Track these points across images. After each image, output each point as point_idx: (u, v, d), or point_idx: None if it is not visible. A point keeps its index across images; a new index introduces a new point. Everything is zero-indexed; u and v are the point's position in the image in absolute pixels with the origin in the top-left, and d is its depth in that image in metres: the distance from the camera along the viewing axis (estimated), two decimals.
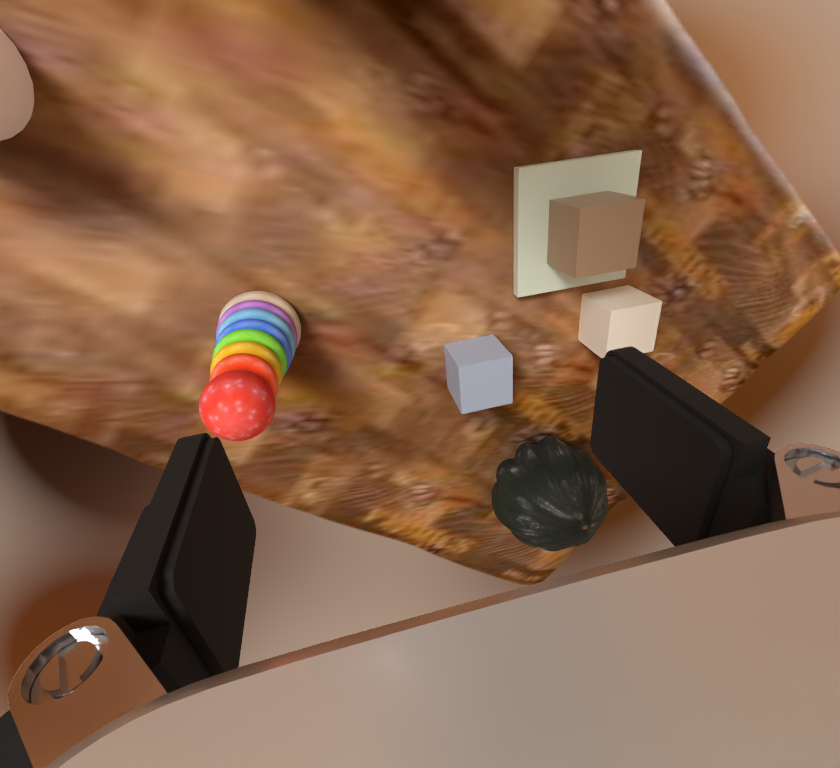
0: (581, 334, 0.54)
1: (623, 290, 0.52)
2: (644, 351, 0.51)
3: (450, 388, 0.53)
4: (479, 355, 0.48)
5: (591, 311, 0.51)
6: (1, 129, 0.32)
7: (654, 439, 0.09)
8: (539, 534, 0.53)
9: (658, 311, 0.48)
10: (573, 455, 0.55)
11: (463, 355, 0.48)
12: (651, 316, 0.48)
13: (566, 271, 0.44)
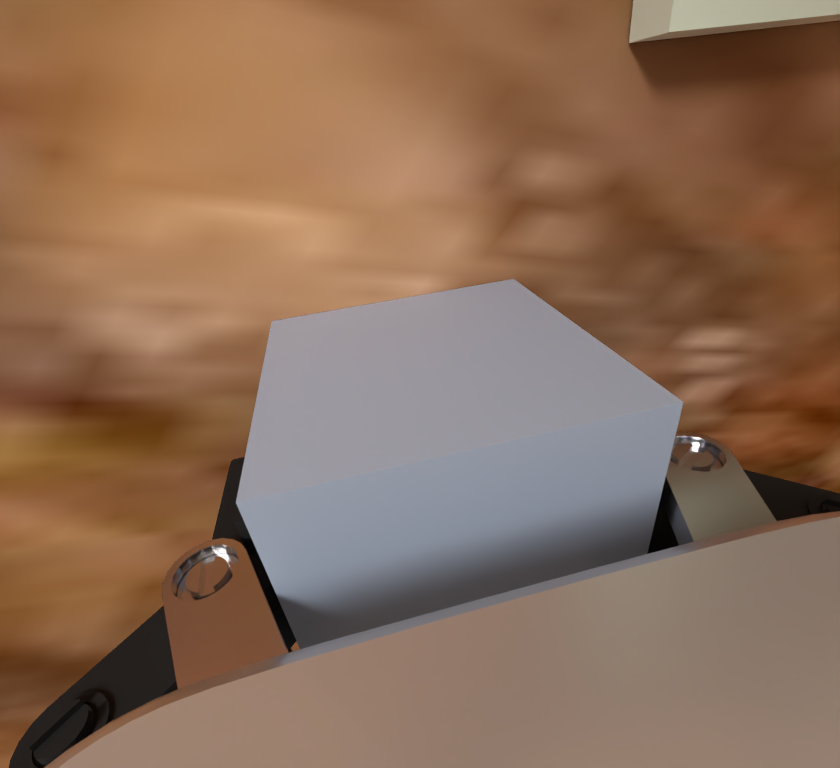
0: None
1: None
2: None
3: None
4: (433, 393, 0.07)
5: None
6: None
7: None
8: None
9: None
10: None
11: (331, 391, 0.07)
12: None
13: None
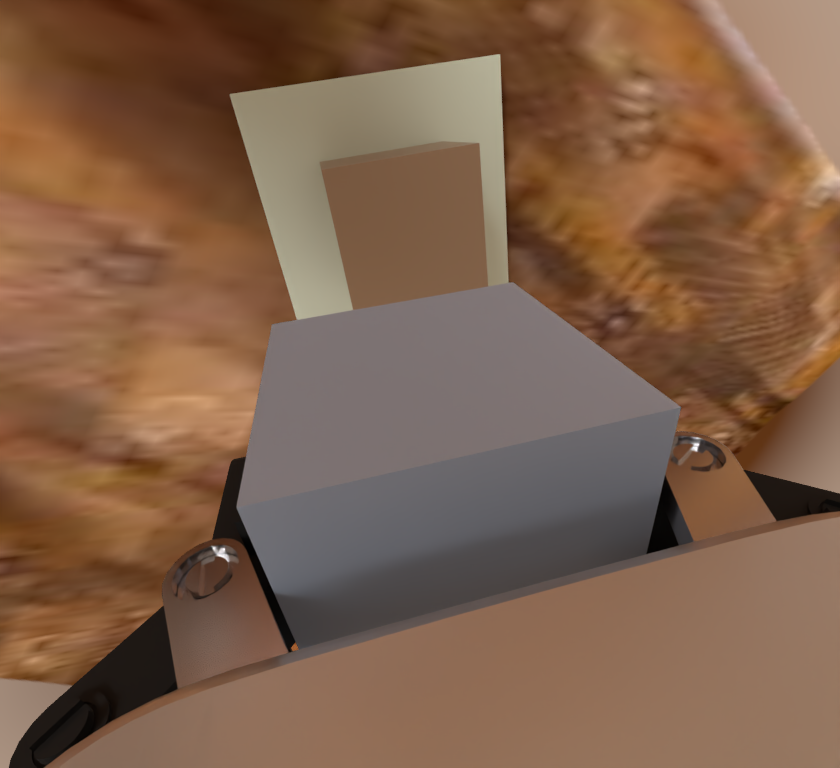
0: None
1: None
2: None
3: None
4: (433, 398, 0.07)
5: None
6: None
7: None
8: None
9: None
10: None
11: (331, 395, 0.07)
12: None
13: None
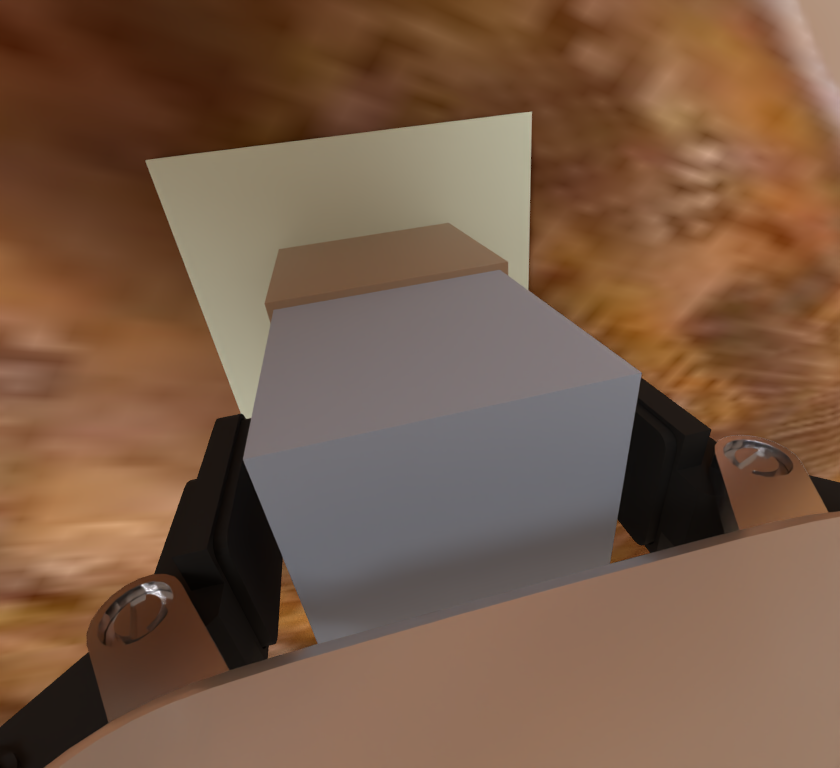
0: None
1: None
2: None
3: None
4: (420, 369, 0.08)
5: None
6: None
7: None
8: None
9: None
10: None
11: (328, 369, 0.08)
12: None
13: None
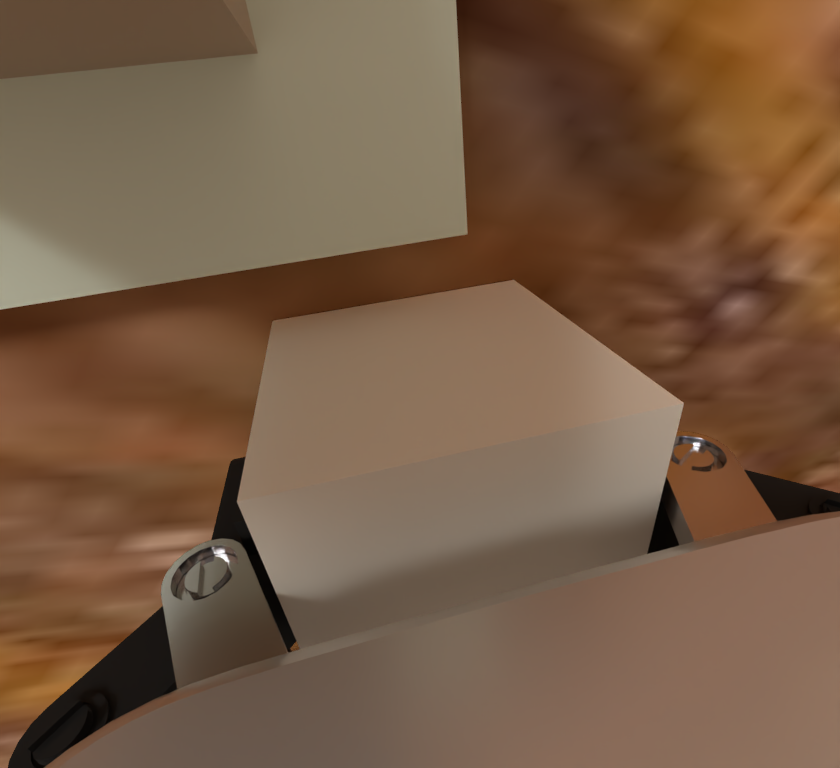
0: None
1: (474, 307, 0.10)
2: None
3: None
4: None
5: None
6: None
7: None
8: None
9: (653, 468, 0.07)
10: None
11: None
12: (599, 501, 0.07)
13: None
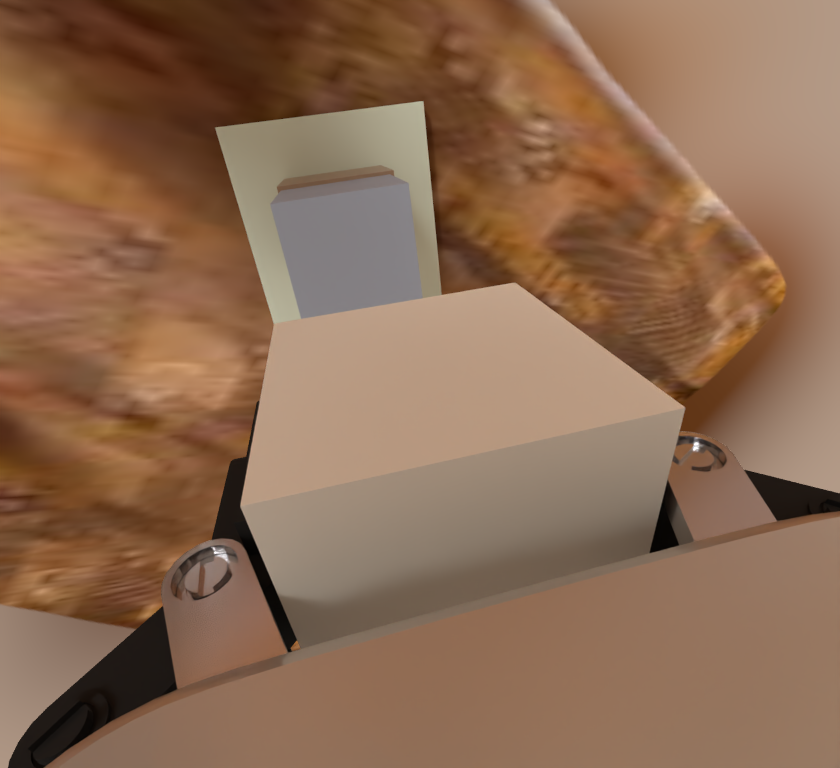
0: None
1: (476, 310, 0.10)
2: None
3: None
4: (335, 190, 0.20)
5: None
6: None
7: None
8: None
9: (654, 472, 0.07)
10: None
11: (301, 194, 0.21)
12: (601, 505, 0.07)
13: None
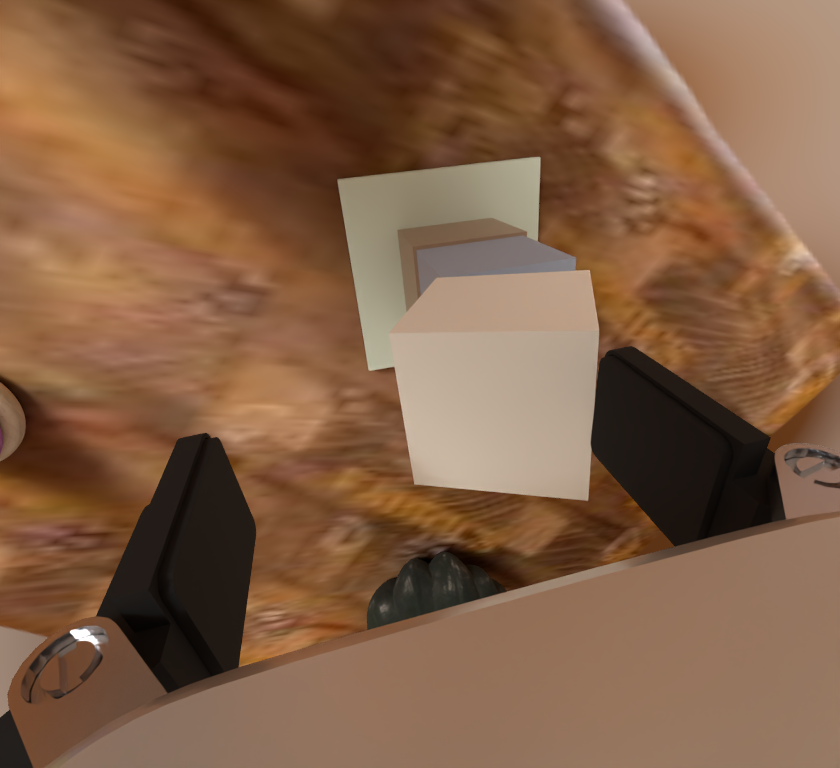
0: None
1: (547, 281, 0.16)
2: (551, 493, 0.15)
3: None
4: (494, 260, 0.20)
5: None
6: None
7: (654, 439, 0.09)
8: None
9: (587, 367, 0.12)
10: (468, 591, 0.38)
11: (456, 262, 0.21)
12: (555, 380, 0.13)
13: None
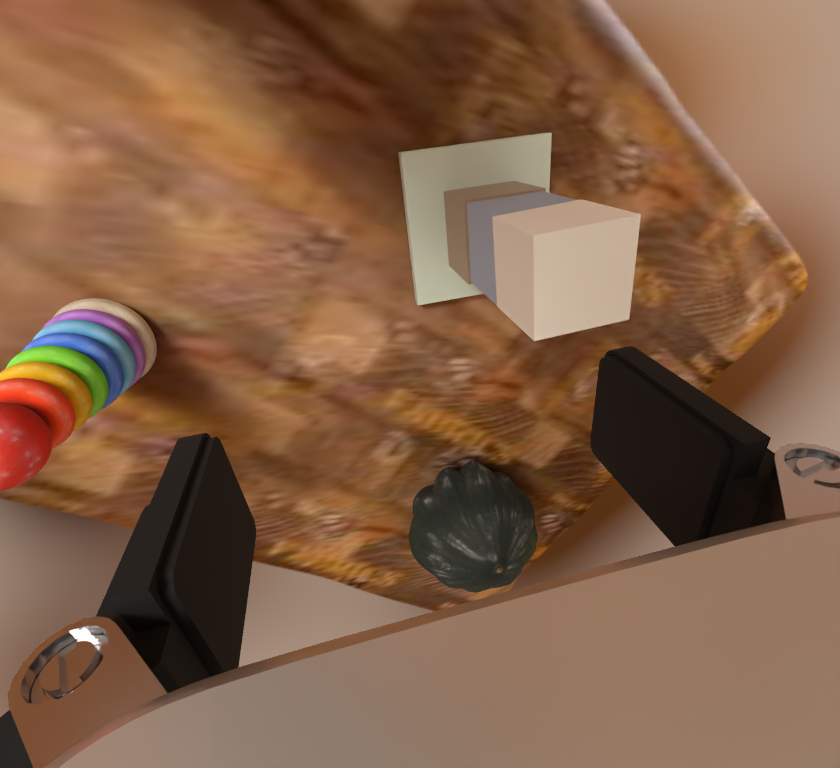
0: (500, 295, 0.30)
1: (570, 206, 0.27)
2: (611, 320, 0.26)
3: (476, 277, 0.34)
4: (527, 205, 0.29)
5: (507, 247, 0.26)
6: None
7: (654, 439, 0.09)
8: (451, 577, 0.47)
9: (634, 236, 0.24)
10: (494, 484, 0.49)
11: (501, 208, 0.30)
12: (619, 247, 0.24)
13: (462, 275, 0.37)
